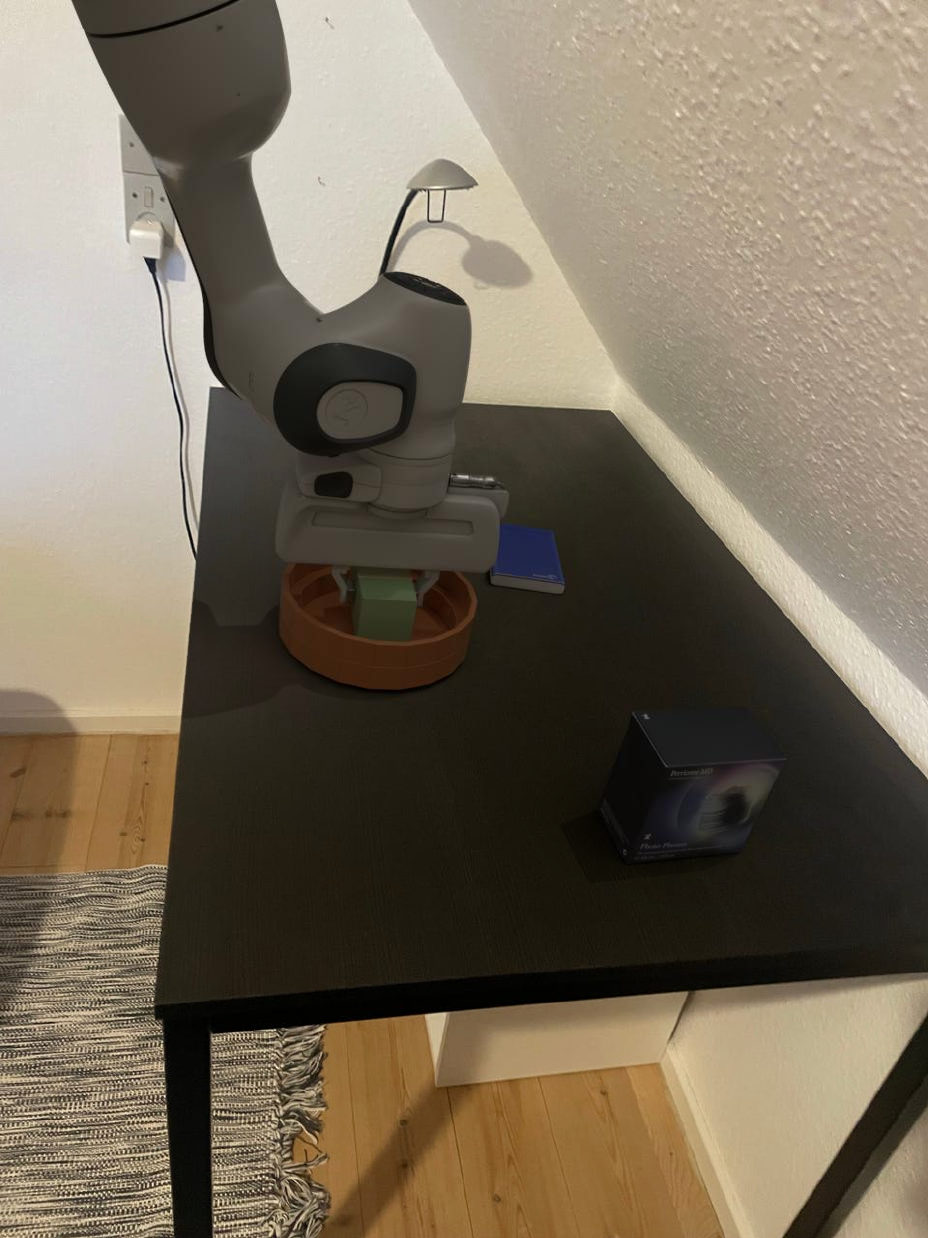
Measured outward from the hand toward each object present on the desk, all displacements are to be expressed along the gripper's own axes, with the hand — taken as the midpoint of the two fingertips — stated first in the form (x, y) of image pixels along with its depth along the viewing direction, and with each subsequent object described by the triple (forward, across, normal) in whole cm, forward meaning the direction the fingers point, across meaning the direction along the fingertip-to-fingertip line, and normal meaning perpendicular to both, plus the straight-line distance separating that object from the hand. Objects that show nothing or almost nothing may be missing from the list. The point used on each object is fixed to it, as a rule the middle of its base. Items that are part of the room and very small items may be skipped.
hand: (379, 602), depth 89 cm
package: (+2, 0, 0) cm, 2 cm away
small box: (+4, -21, +26) cm, 34 cm away
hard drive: (+4, -19, -16) cm, 25 cm away
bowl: (+4, 0, 0) cm, 4 cm away
